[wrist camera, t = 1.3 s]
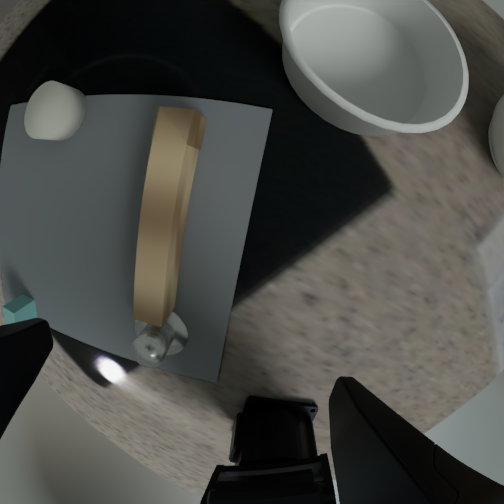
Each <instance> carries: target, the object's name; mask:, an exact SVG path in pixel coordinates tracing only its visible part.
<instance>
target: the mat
mask: <svg viewBox="0 0 504 504" xmlns="http://www.w3.org/2000/svg"><path fill="white" fill-rule="evenodd" d="M85 99H86V113H85V117H84V120H83V122H82V124H81V126H80V128H79V129H78V130H77V132H76V133H75V134H74V135H73V136H72V137H70V138H69V139H67V140H64V141H56V140H45V139H34V138H31V137H30V136H29V135H28V134H27V132H26V130H25V125H24V117H25V111H26V107H27V105H28V102H27V103H21V104H15V105H11V107H10V112H9V116H8V121H7V126H6V131H5V136H4V142H3V149H2V156H1V164H0V271H1V279H2V286H3V293H4V299H5V304H7V303H9V302H10V301H12V300H14V299H15V298H17V297H19V296H20V295H22V294H24V295H26V296H28V297H30V298H32V299H34V300H35V305H36V312H37V318H42V319H44V320H46V321H48V323H49V325H50V327H51V328H53V329H55V330H57V331H59V332H61V333H63V334H66V335H68V336H70V337H73V338H75V339H77V340H80V341H82V342H84V343H87V344H89V345H92V346H94V347H97V348H100V349H102V350H105V351H107V352H110V353H113V354H116V355H118V356H121V357H124V358H127V359H130V360H133V361H136V360H135V359H134V358H133V356H132V354H131V350H130V347H131V344H132V343H133V342H134V340H135V339H136V338H137V334H136V331H135V320H134V319H133V308H134V281H135V265H136V252H137V241H138V231H139V222H140V213H141V205H142V198H143V191H144V185H145V178H146V172H147V167H148V161H149V156H150V150H151V145H152V141H151V137H152V133H153V128H154V124H155V119H156V115H157V111H158V107H159V106H162V107H176V108H187V109H196V110H197V111H198V112H199V113H200V114H201V115H202V116H203V117H204V118H205V119H206V120H207V123H206V127H205V132H204V136H203V141H202V145H201V150H199V152H198V157H197V162H196V167H195V172H194V178H193V183H192V189H191V194H190V200H189V206H188V212H187V218H186V224H185V231H184V238H183V245H182V252H181V259H180V267H179V275H178V283H177V292H176V301H175V308H174V309H173V311H174V312H175V313H176V314H177V315H179V316H180V318H181V319H182V320H183V321H184V323H185V325H186V327H187V331H188V340H187V343H186V345H185V347H184V348H183V350H181V351H180V352H179V353H177V354H174V355H165V357H164V359H163V361H162V363H161V364H160V365H159V366H158V367H156V368H159V369H162V370H166V371H169V372H173V373H176V374H180V375H184V376H188V377H192V378H196V379H200V380H204V381H209V382H213V383H217V379H218V374H219V369H220V363H221V358H222V353H223V348H224V343H225V338H226V333H227V328H228V323H229V317H230V312H231V307H232V302H233V297H234V292H235V287H236V282H237V277H238V272H239V268H240V263H241V258H242V253H243V248H244V243H245V238H246V233H247V228H248V224H249V219H250V214H251V209H252V204H253V199H254V195H255V190H256V185H257V180H258V176H259V171H260V166H261V161H262V157H263V152H264V147H265V143H266V138H267V133H268V129H269V124H270V120H271V115H272V110H273V109H268V108H262V107H257V106H251V105H245V104H239V103H233V102H226V101H218V100H210V99H201V98H191V97H179V96H164V95H132V94H121V95H90V96H85ZM136 362H137V361H136Z"/></svg>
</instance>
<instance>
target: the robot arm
mask: <svg viewBox="0 0 504 504" xmlns="http://www.w3.org/2000/svg"><path fill="white" fill-rule="evenodd" d="M52 348H53V338H52V334H51V330H50V325H49V323H48V321H46V320H44V319H42V318H33V319H28V320H24V321H20V322H15V323H11V324H6V325H2V326H0V439H1V437H2V435H3V433H4V431H5V430H6V428H7V426H8V424H9V422H10V421H11V419H12V417H13V416H14V414H15V412H16V410H17V409H18V407H19V405H20V404H21V402H22V401H23V399H24V397H25V396H26V394H27V392H28V391H29V389H30V388H31V386H32V384H33V383H34V381H35V379H36V377H37V376H38V374H39V372H40V370H41V368H42V366H43V365H44V363H45V361H46V359H47V357H48V356H49V354H50V352H51V350H52ZM250 401H253V402H250ZM317 412H318V406H317V405H316V404H309V403H299V402H290V401H281V400H274V399H267V398H260V397H254V396H250V397H248V398H247V399H246V402H245V405H244V408H243V412H242V413H238V414H237V416H236V420H235V423H234V427H233V432H232V439H231V447H230V455H229V460H230V462H234V463H235V466H224V465H217V466H216V468H215V470H214V472H213V474H212V476H211V479H210V481H209V484H208V486H207V488H206V491H205V493H204V495H203V497H202V500H201V503H200V504H336V498H335V491H334V486H333V481H332V476H331V471H330V466H329V461H328V456H327V453H325V454H320V456H318V455H317V448H316V442H315V435H314V429H313V423H312V421H313V419H314V418H315V416H316V414H317ZM329 418H330V438H331V451H332V457H333V463H334V469H335V475H336V481H337V487H338V494H339V501H340V504H504V486H503V485H501V484H499V483H497V482H495V481H493V480H491V479H490V478H487V477H486V476H484V475H482V474H481V473H479V472H477V471H475V470H473V469H472V468H470V467H468V466H467V465H465V464H464V463H462V462H460V461H459V460H457V459H456V458H454V457H453V456H451V455H450V454H449V453H447V452H446V451H445V450H443V449H442V448H441V447H439V446H438V445H437V444H436V445H435V444H434V442H433V441H431V440H430V439H429V438H428V437H426V436H425V435H424V434H423V433H421V432H420V431H419V430H417V429H416V428H415V427H414V426H412V425H411V424H410V423H409V422H407V421H406V420H405V419H404V418H402V417H401V416H400V415H399V414H397V413H396V412H395V411H394V410H392V409H391V408H390V407H389V406H387V405H386V404H385V403H384V402H382V401H381V400H380V399H379V398H378V397H376V396H375V395H374V394H373V393H371V392H370V391H369V390H368V389H367V388H365V387H364V386H363V385H362V384H361V383H359V382H358V381H357V380H356V379H355V378H353V377H339V378H338V379H337V380H336V383H335V385H334V388H333V390H332V393H331V395H330V398H329Z"/></svg>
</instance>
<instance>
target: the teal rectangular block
mask: <svg viewBox="0 0 504 504" xmlns="http://www.w3.org/2000/svg"><path fill="white" fill-rule="evenodd" d="M2 308H3V313H4V318H5V322H6V324H11V323H15V322H20V321H24V320H28V319H33V318H37V312H36V305H35V300H34V299H32V298H30V297H28V296H26V295H24V294H22V295H20V296H19V297H17V298H15V299H14V300H12V301H10V302H9V303H7V304H5V305H4V306H2Z"/></svg>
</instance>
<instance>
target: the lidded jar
mask: <svg viewBox="0 0 504 504" xmlns="http://www.w3.org/2000/svg"><path fill="white" fill-rule="evenodd" d="M488 141H489V148H490V153H491V156H492V159H493V162H494V164H495V166H496V168H497V170H498V171H499V173H500V174H501V175H502V177H503V178H504V94H503V96H502V97H501V98H500V99H499V101H498V102H497V104H496V106H495V109H494V111H493V116H492V119H491V122H490V125H489V130H488Z"/></svg>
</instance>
